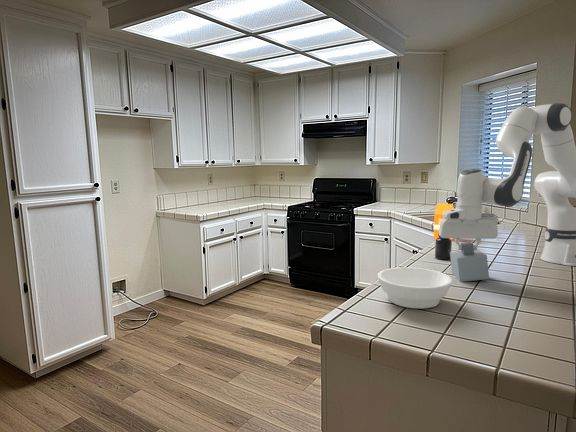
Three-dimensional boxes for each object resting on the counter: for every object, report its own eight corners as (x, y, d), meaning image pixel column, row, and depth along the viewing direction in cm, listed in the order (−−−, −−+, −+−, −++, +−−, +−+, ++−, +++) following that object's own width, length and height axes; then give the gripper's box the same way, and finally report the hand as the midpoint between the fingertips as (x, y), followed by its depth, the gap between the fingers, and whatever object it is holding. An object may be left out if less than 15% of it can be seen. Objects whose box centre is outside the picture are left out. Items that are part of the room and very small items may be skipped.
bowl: (443, 321, 111) (444, 292, 110) (366, 306, 123) (367, 280, 121) (457, 297, 130) (458, 272, 129) (389, 286, 142) (390, 263, 140)
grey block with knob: (479, 271, 154) (476, 239, 153) (489, 278, 144) (485, 244, 143) (452, 274, 156) (448, 242, 154) (459, 281, 146) (456, 248, 144)
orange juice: (437, 237, 229) (438, 203, 226) (453, 238, 224) (455, 203, 221) (433, 239, 223) (434, 204, 220) (449, 241, 217) (451, 205, 215)
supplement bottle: (452, 260, 176) (453, 234, 174) (436, 260, 177) (437, 233, 176) (449, 257, 183) (450, 231, 181) (433, 256, 184) (434, 231, 182)
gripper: (495, 212, 149) (493, 248, 150) (438, 212, 151) (437, 247, 153) (501, 214, 142) (499, 252, 144) (442, 214, 145) (441, 251, 147)
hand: (466, 249), depth 149 cm, fingers closed on grey block with knob, 4 cm apart
